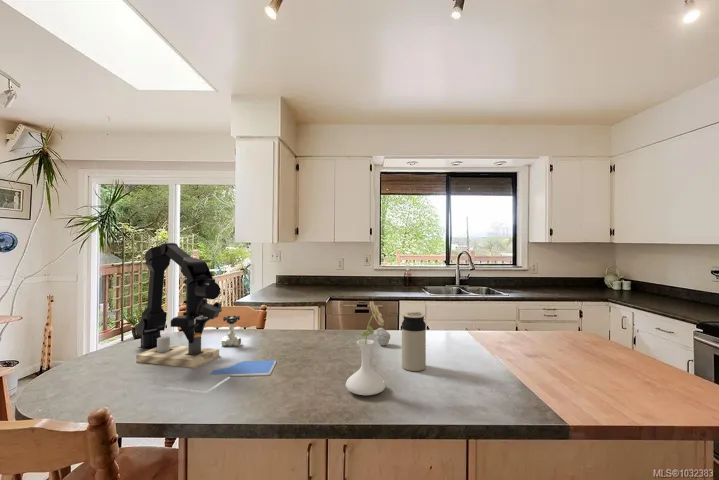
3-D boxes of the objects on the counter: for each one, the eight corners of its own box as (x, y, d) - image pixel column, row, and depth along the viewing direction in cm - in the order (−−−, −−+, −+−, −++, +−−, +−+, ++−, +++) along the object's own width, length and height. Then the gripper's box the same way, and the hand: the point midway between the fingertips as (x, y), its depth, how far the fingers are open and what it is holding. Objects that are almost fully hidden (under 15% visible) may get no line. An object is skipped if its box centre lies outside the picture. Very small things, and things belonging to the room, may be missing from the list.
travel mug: (430, 367, 113) (430, 313, 113) (417, 374, 107) (417, 317, 107) (410, 361, 118) (410, 310, 118) (397, 367, 112) (397, 314, 112)
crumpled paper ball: (379, 342, 142) (379, 325, 142) (393, 344, 137) (393, 328, 138) (371, 345, 137) (371, 328, 137) (385, 348, 133) (385, 331, 133)
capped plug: (185, 354, 116) (185, 335, 116) (193, 351, 120) (193, 331, 120) (195, 355, 115) (195, 335, 115) (203, 352, 119) (203, 332, 119)
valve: (236, 349, 131) (236, 319, 131) (219, 349, 131) (219, 319, 131) (242, 344, 138) (242, 315, 138) (226, 344, 138) (226, 315, 138)
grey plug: (154, 358, 119) (154, 339, 119) (163, 355, 123) (163, 336, 123) (163, 359, 118) (163, 340, 118) (172, 355, 122) (172, 336, 122)
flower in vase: (373, 403, 87) (373, 307, 87) (337, 393, 93) (337, 303, 93) (395, 385, 98) (395, 300, 98) (362, 377, 104) (362, 297, 104)
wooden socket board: (136, 363, 116) (136, 354, 116) (163, 352, 127) (163, 344, 127) (196, 369, 110) (196, 360, 110) (219, 357, 122) (219, 349, 122)
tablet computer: (206, 379, 104) (206, 374, 104) (220, 364, 116) (220, 360, 116) (269, 377, 105) (269, 373, 105) (276, 363, 118) (276, 359, 118)
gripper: (202, 302, 108) (201, 350, 107) (229, 293, 126) (229, 334, 126) (169, 301, 109) (169, 349, 108) (201, 292, 127) (201, 333, 127)
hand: (194, 341), depth 117 cm, fingers closed on capped plug, 4 cm apart
